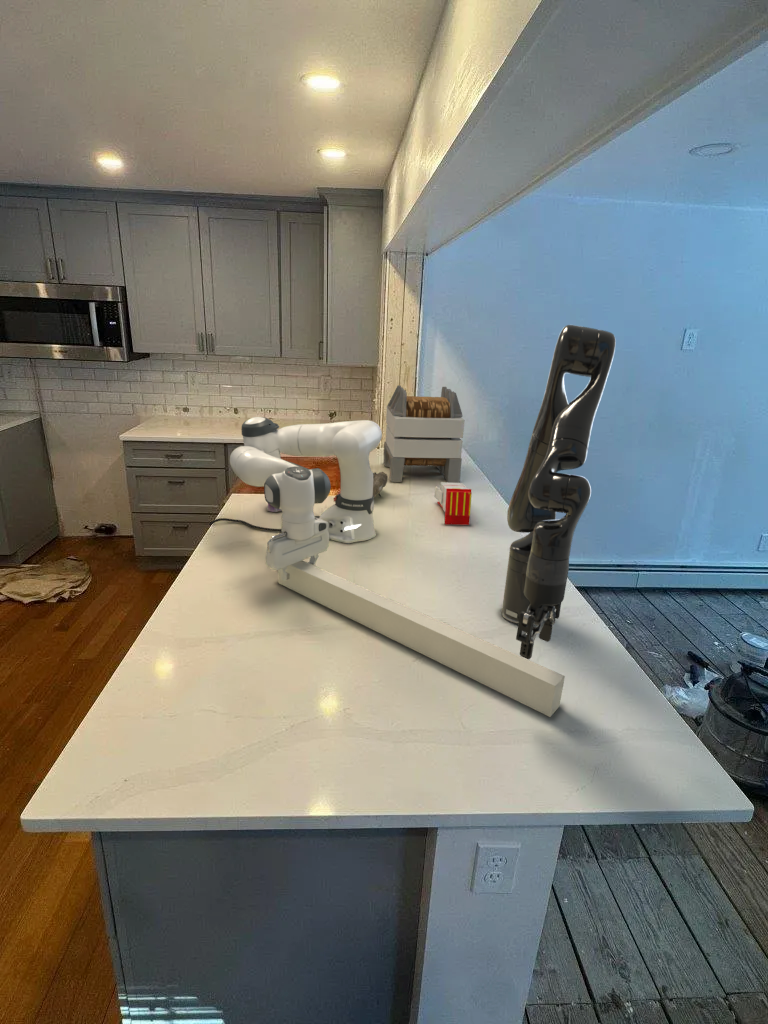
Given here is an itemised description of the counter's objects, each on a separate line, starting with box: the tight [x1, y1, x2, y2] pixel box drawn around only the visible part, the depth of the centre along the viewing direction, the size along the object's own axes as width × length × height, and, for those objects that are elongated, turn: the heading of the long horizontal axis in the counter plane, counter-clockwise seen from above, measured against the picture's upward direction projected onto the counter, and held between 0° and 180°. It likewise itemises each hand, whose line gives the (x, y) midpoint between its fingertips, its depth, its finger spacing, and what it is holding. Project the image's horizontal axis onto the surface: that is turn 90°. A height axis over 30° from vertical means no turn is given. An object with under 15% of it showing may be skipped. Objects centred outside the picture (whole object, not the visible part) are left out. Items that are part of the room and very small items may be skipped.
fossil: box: [373, 471, 389, 498], centre depth 236 cm, size 22×10×15 cm
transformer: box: [383, 384, 465, 483], centre depth 268 cm, size 34×33×41 cm
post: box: [277, 560, 566, 718], centre depth 137 cm, size 82×4×7 cm, turn 50°
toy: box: [434, 481, 472, 526], centre depth 221 cm, size 12×13×30 cm
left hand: (298, 573), depth 157 cm, fingers open, 8 cm apart
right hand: (535, 648), depth 113 cm, fingers open, 8 cm apart
